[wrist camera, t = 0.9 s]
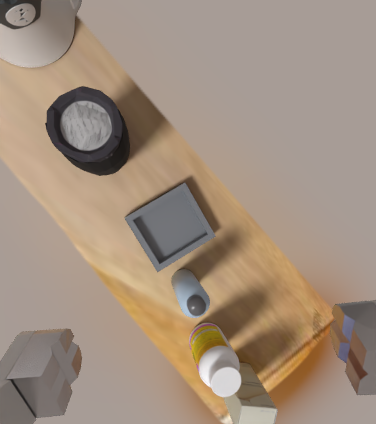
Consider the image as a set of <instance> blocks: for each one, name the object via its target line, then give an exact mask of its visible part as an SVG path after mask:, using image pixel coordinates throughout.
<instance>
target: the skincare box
mask: <svg viewBox="0 0 376 424" xmlns="http://www.w3.org/2000/svg"><path fill="white" fill-rule="evenodd" d="M239 364H240V369H239V373H240V375H241V385H240V388H239V389H238V390H237V392H236V393H234V394H233V395H231V396H228V397H223V398H224V401H225V403H226V406H227V409H228V411H229V414H230V416H231V419H232V422H233V424H275V420H276V415H277V408H276V406H275V405H274V403H273V402H272V400H271V398H270V397H269V395H268V393H267V392H266V390H265V388H264V387H263V385H262V383H261V382H260V380H259V378H258V377H257V375H256V373H255V372H254V370H253V369H252V367H251V365H250V364H247V363H240V362H239Z"/></svg>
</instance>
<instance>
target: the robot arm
mask: <svg viewBox="0 0 376 424" xmlns="http://www.w3.org/2000/svg"><path fill="white" fill-rule="evenodd" d="M81 2H82V0H0V58H1V59H3V60H5V61H7V62H9V63H11V64H14V65H17V66H22V67H41V66H45V65H48V64H50V63H53V62H54V61H56V60H58V59H59V58H60V57H61V56H62V55H63V54H64V53H65V52H66V51H67V49H68V48H69V46H70V44H71V42H72V39H73V36H74V29H75V16H76V14H77V12H78V10H79V8H80V5H81ZM332 314H333V316H334V318H335V321H334V322H332V323H331V326H330V335H331V341H332V344H333V347H334V350H335V352H336V354H337V356H338V358H340V359H341V360H343V361H344V362H345V363H346V371H345V372H346V374H347V376H348V378H349V380H350V382H351V384H352V386H353V388H354V390H355V392H356V394H357V395H374V394H376V300H373V301H361V302H352V303H342V304H335V305H334V307H333V310H332ZM73 337H74V335H73V333H72V331H71V329H53V330H39V331H38V330H37V331H26V332H21V333H20V334H19V335H17V336H16V338H15V339H14V341H13V342H12V344H11V346H10V347H9V349H8V350H7V352H6V353H5V355H4V356H3V358H2V360H1V361H0V424H33V423H34V422H35V421H36V418H41V417H51V416H60V415H64V413H65V411H66V408H67V405H68V402H69V400H70V397H71V394H72V389H71V386H70V385H71V384H72V383H73V382H74V381H75V380H76V379H77V378H78V375H79V372H80V369H81V361H82V356H81V351H80V348H79V346H78V345H76V344H75V343H73V342H72V340H73Z"/></svg>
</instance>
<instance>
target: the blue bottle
mask: <svg viewBox="0 0 376 424" xmlns="http://www.w3.org/2000/svg"><path fill="white" fill-rule="evenodd" d="M171 282H172V286H173V289H174V291H175V294H176V297H177V299H178V302H179V304H180V307H181V310H182V312H183V313H184V314H185V315H186V316H188V317H191V318H197V317H200V316H202V315H203V314H205V313H206V311H207V310H208V308H209V305H210V300H209V296H208V295H207V293H206V292H205V290H204V289H203V287H202V286H201V284H200V283H199V282H198V280H197V279H196V277H195V276H194V274H193V273H192V272H191V271H190V270H187V269H180V270H178V271H176V272H175V273H174V275H173V276H172V280H171Z"/></svg>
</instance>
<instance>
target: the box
mask: <svg viewBox="0 0 376 424" xmlns="http://www.w3.org/2000/svg"><path fill="white" fill-rule="evenodd" d="M125 220H126V222H127V223H128V225H129V226H130V228H131V230H132V231H133V233H134V235H135V236H136V238H137V239H138V241H139V243H140V244H141V246H142V248H143V249H144V251H145V252H146V254H147V256H148V257H149V259H150V261H151V262H152V264H153V265H154V267H155V269H156V270H157V272H159V271H160V270H162V269H163V268H165V267H167V266H168V265H170V264H172V263H173V262H175V261H176V260H178V259H180V258H181V257H183V256H185V255H186V254H188V253H189V252H191V251H193V250H194V249H196V248H197V247H199V246H201V245H202V244H204V243H206V242H207V241H209V240H210V239H212V238H214V237H215V234H214V232H213V231H212V229H211V227H210V225H209V224H208V222H207V220H206V218H205V217H204V215H203V213H202V211H201V210H200V208H199V206H198V204H197V202H196V201H195V199H194V197H193V195H192V194H191V192H190V190H189V188H188V187H187V185H186V183H182V184H181V185H179V186H177V187H175V188H174V189H172V190H170V191H169V192H167V193H165V194H163V195H162V196H160V197H158V198H157V199H155V200H153V201H151V202H150V203H148V204H146V205H145V206H143V207H141V208H139V209H138V210H136V211H134V212H133V213H131V214H129V215H127V216H126V217H125Z"/></svg>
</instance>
